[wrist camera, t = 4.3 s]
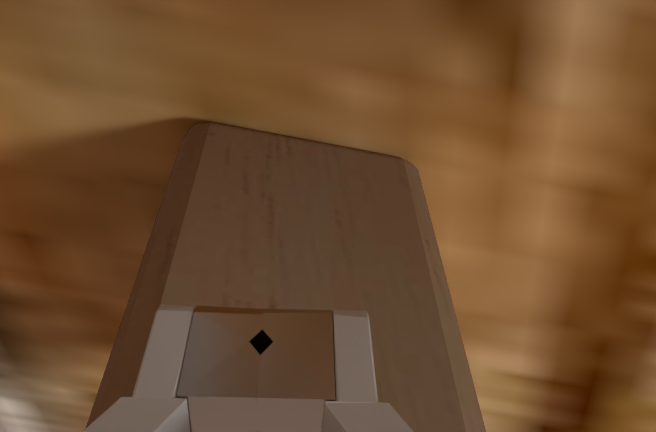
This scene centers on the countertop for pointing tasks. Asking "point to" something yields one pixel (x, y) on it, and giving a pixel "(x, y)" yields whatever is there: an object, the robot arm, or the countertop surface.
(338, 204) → the wooden block
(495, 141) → the countertop surface
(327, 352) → the robot arm
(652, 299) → the countertop surface
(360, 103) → the countertop surface
